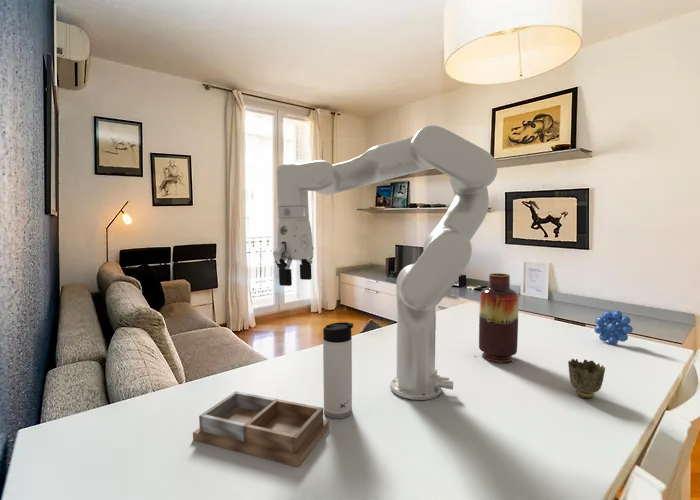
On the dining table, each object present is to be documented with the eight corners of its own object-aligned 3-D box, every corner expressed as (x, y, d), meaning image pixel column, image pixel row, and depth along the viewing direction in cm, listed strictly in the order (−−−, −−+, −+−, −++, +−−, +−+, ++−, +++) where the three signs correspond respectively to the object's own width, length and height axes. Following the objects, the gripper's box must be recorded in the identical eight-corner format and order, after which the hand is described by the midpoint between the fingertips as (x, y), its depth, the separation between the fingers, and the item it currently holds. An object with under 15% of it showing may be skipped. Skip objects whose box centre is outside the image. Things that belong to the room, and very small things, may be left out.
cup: (598, 392, 90) (599, 360, 89) (608, 406, 83) (610, 372, 82) (563, 387, 92) (564, 356, 91) (571, 401, 85) (572, 367, 85)
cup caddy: (328, 427, 74) (328, 406, 74) (298, 467, 62) (297, 442, 62) (236, 408, 82) (235, 388, 82) (193, 439, 70) (192, 417, 70)
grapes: (638, 347, 122) (640, 312, 121) (627, 350, 119) (629, 314, 118) (600, 337, 132) (602, 305, 131) (590, 340, 129) (591, 307, 128)
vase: (499, 367, 105) (501, 278, 103) (470, 355, 115) (472, 273, 113) (525, 360, 110) (527, 275, 109) (495, 349, 120) (497, 271, 118)
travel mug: (350, 420, 77) (350, 328, 76) (320, 417, 78) (319, 326, 77) (355, 406, 83) (355, 320, 82) (327, 403, 84) (327, 319, 83)
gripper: (287, 213, 81) (290, 288, 82) (322, 214, 97) (324, 277, 98) (259, 214, 84) (263, 287, 85) (298, 215, 100) (300, 277, 101)
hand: (296, 282), depth 92 cm, fingers open, 9 cm apart
